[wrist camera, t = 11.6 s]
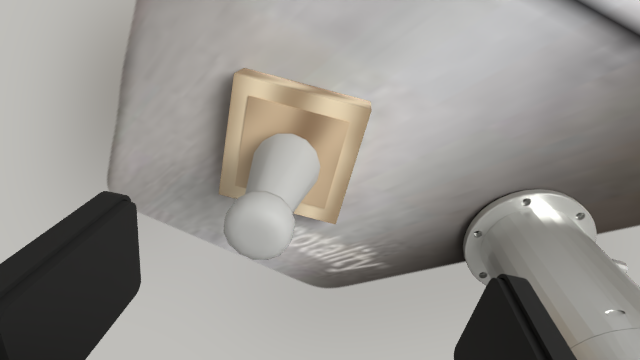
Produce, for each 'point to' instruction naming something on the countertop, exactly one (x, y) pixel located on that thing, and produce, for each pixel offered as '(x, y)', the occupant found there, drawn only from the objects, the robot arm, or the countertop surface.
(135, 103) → the countertop surface
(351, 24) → the countertop surface
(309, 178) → the salt shaker
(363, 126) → the base board
